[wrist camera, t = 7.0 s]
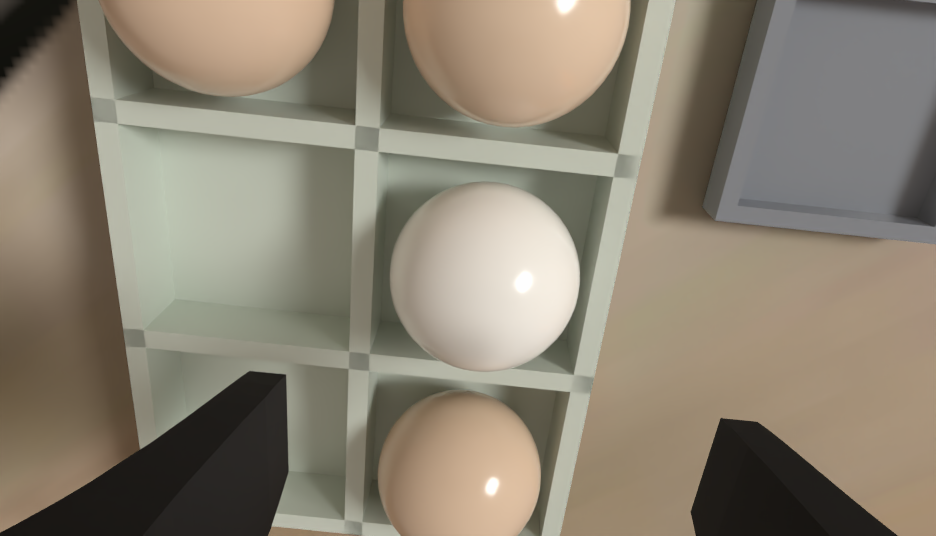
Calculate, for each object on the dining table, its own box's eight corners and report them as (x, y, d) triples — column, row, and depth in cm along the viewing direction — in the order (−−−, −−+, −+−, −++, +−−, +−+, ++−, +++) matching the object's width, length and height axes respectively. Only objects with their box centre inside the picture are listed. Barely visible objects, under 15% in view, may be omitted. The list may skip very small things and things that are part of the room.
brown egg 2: (590, 116, 17) (625, 162, 13) (410, 97, 17) (380, 136, 13) (627, -91, 15) (684, -122, 11) (423, -113, 15) (394, -154, 11)
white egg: (553, 323, 20) (573, 421, 16) (396, 306, 20) (370, 401, 15) (581, 170, 18) (613, 231, 14) (407, 151, 18) (380, 206, 13)
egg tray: (549, 498, 24) (555, 554, 21) (183, 461, 24) (149, 513, 21) (675, -133, 16) (709, -155, 13) (113, -197, 15) (44, -230, 13)
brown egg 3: (525, 484, 23) (533, 608, 18) (387, 470, 23) (360, 591, 18) (545, 367, 21) (561, 474, 16) (394, 351, 21) (367, 454, 16)
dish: (919, 230, 19) (945, 245, 18) (702, 207, 19) (715, 220, 18) (1018, -7, 16) (1056, -7, 15) (766, -35, 16) (785, -37, 15)
